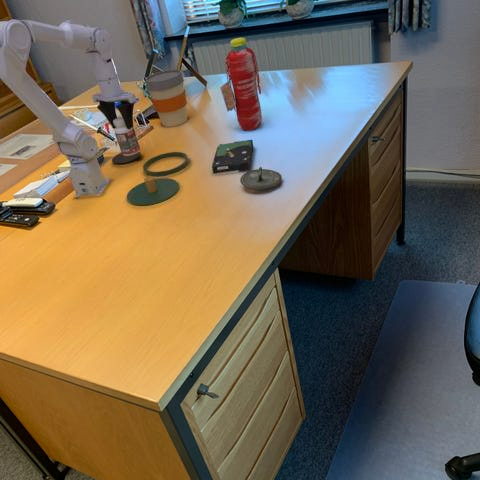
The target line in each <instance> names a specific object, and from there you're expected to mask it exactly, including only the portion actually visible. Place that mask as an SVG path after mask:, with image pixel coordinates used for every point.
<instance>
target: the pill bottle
mask: <svg viewBox="0 0 480 480" xmlns="http://www.w3.org/2000/svg"><path fill="white" fill-rule="evenodd" d="M113 123H114V125H115V126H116V128H115V129H114V131H113V132H114V134H115V138H116V141H117V144H118V147H119V150H120V153H122V155H124V156H131V155H134V154H136V153H138V152H141V151H140V150H141V147H140V143H139V141H138V137H137V134H136V131H135V128H134V126H133V127H132V128H131V129H127V127H126V125H125V122H124V120H123V117H122V116H119V117H117V118H116V119H114V120H113Z"/></svg>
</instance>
